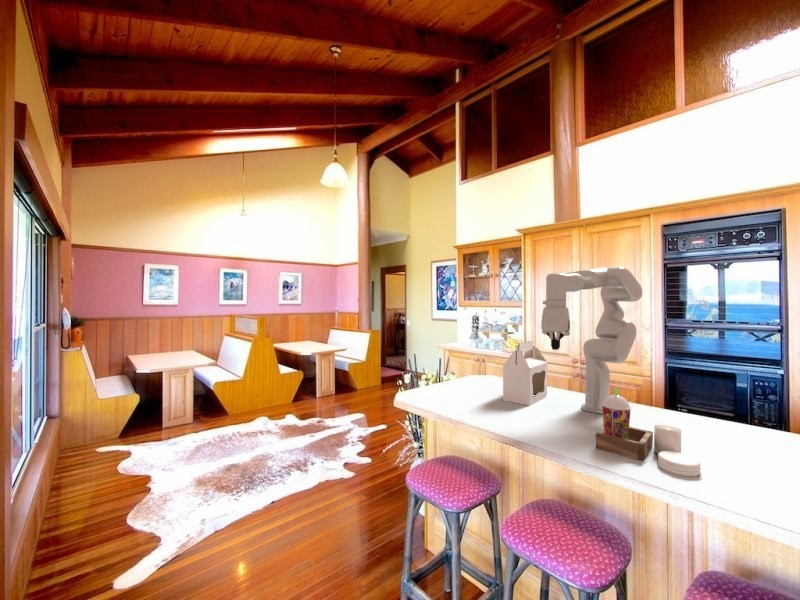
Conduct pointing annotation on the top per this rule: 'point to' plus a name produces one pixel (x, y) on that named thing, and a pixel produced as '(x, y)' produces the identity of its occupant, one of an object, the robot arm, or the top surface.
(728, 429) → the top surface
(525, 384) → the gable box
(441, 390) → the top surface
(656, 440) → the beige cylinder
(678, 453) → the coaster
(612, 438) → the u rest
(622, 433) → the smoothie
